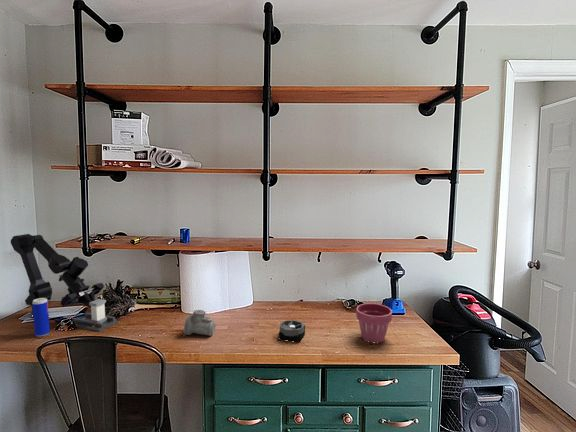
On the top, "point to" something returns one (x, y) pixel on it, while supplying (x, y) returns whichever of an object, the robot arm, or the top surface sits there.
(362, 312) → the plant pot
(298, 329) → the cpu cooler
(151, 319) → the top surface
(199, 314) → the pipe fitting
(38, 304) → the beverage can
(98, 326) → the fader track
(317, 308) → the top surface
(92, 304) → the fader tab
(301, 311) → the top surface
